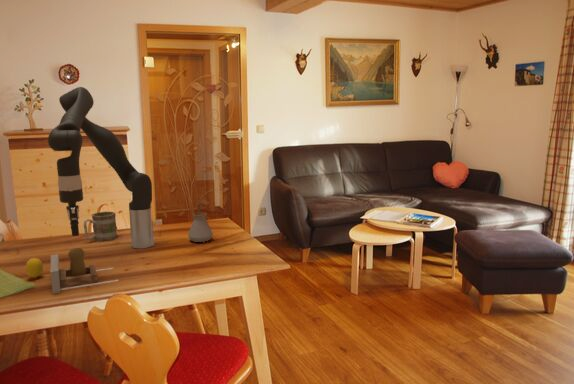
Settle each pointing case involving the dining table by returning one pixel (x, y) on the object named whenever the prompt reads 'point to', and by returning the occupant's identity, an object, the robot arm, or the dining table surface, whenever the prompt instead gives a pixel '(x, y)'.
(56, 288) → the backstop
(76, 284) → the socket block
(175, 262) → the dining table surface
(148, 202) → the robot arm
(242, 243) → the dining table surface
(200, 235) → the coffee pot
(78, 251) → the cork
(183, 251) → the dining table surface
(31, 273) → the lemon
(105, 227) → the mug
